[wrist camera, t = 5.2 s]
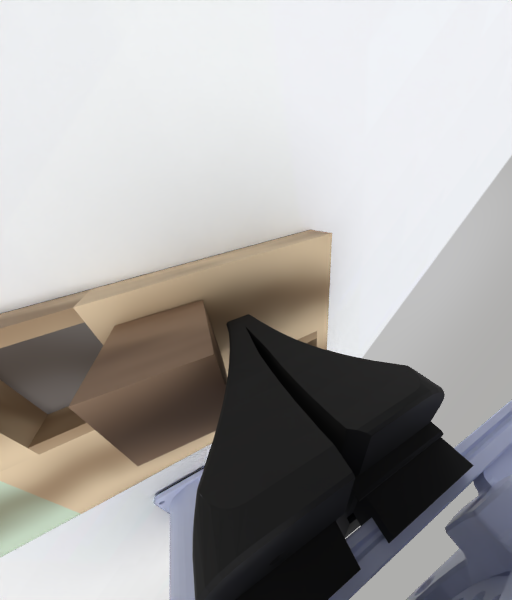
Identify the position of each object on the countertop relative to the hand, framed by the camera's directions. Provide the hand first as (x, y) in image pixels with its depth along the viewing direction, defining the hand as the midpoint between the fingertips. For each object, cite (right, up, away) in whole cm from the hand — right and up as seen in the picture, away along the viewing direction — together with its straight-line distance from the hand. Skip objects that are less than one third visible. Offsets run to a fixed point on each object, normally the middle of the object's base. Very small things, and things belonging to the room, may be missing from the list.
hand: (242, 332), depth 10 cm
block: (-3, -1, 0) cm, 4 cm away
